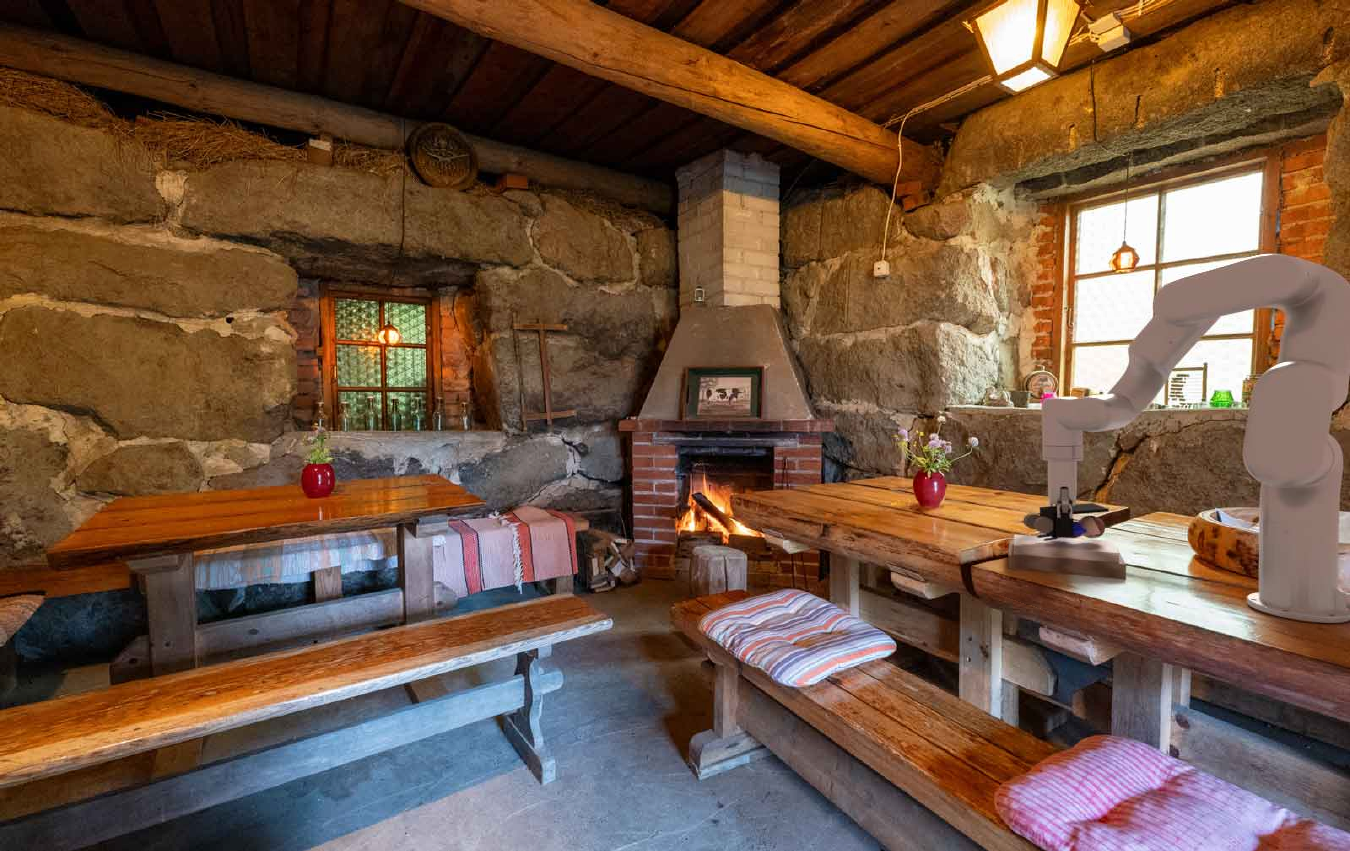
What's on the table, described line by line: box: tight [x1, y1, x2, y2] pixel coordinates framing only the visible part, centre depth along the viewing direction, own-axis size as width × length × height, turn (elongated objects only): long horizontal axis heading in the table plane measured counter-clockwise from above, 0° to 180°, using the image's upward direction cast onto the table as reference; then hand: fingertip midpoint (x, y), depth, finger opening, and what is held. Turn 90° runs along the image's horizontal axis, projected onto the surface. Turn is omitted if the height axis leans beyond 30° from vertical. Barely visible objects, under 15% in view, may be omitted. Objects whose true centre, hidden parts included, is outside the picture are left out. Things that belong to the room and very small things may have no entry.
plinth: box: [1008, 534, 1127, 580], centre depth 136 cm, size 21×13×5 cm, turn 60°
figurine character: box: [1023, 502, 1109, 541], centre depth 135 cm, size 7×8×15 cm
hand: (1063, 531), depth 136 cm, fingers closed on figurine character, 8 cm apart
